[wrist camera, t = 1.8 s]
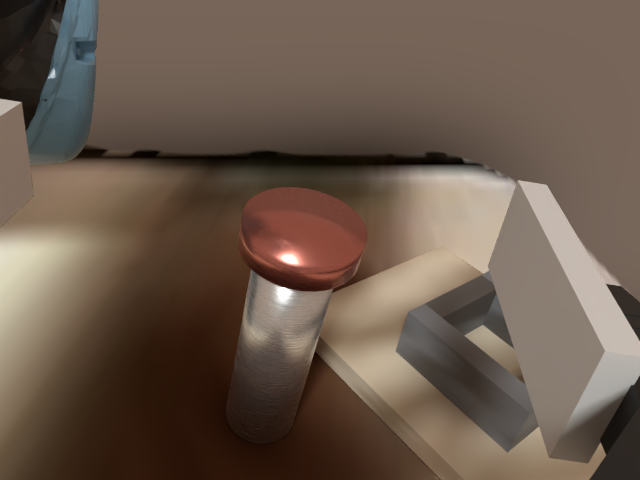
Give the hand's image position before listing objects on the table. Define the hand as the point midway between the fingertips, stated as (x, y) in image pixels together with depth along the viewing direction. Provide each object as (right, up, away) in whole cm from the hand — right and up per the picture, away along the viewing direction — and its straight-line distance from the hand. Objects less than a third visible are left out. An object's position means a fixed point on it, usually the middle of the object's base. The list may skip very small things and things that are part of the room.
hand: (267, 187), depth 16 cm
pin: (-2, -12, +19) cm, 22 cm away
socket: (+12, -11, +23) cm, 29 cm away
